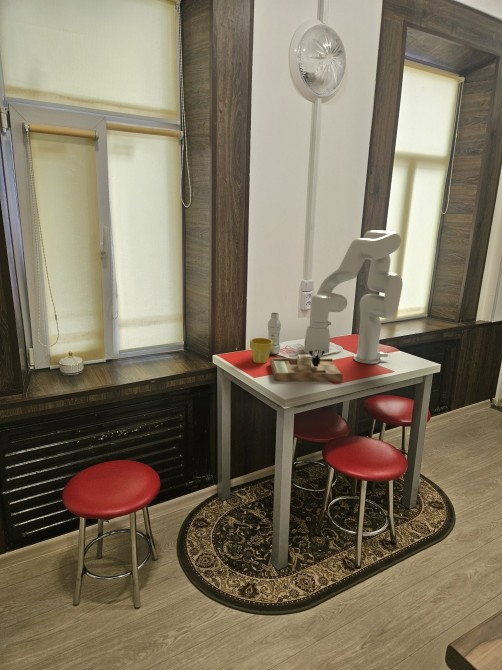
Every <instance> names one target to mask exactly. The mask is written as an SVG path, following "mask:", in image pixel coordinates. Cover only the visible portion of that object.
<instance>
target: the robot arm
mask: <svg viewBox="0 0 502 670" xmlns="http://www.w3.org/2000/svg"><path fill="white" fill-rule="evenodd" d="M401 242H402V238H401V236H400V234H399V233H398V232H396V231H388V230H375V229H374V230H367V231H366V232H365V233H364V234H363V237H361V238H355V239H353V240H352V241H351V243H350V244H349V247H348V249H347V251H346V252H345V255H344V257H343V259H342V261H341V263H340V265H339V267H338V268H337V269H336V270H335V271H333V272H332V273H330V275H328V276H327V277H326V278H325V279H324V280H323V281H322V282H321V284H320V286H319V288H318V291H316V292H317V293H316V294H315V295H313V296H312V297H311V302H310V315H309V325H308V326H307V328H306V330H305V336H304V337H305V338H304V349H303V352H304V353H306V354H308V355H310V357H311V358H312V364H313V365H314V367H316V366H317V367H318V364H320V358H322V357H323V355H324V354H329V353H330V343H331V340H330V339H331V335H330V334H331V333H330V329H329V326H332V321H329V314H330V313H341V312H343V311H344V310H345V309H346V308H347V306H348V300H347V298H346V297H345V296H344V295H342V294H338V293H335V292H333V290H335V288H336V287H337V286H339V285H340V284H342V283H345V282H348V281H351V280H354V279H355V278H358V275H359V273H360V271H361V269H362V267H363V264H364V263H365V262H366V260H369V261H370V264H369V265H370V267H369V271H368V276H367V288H368V289H369V290H370V291H373V292H378V293H380V294H384V295H380V294H375V293H367V294H364V295H363V296H362V297H361V298H360V300H359V312H360V316H359V317H360V318H359V319H360V320H359V332H358V341H357V351H356V353H355V354H353V357H352V358H353V360H354V361H356V362H357V363H362V364H367V365H369V364H370V365H374V364H378V363H381V358H387V357H388V356H389V354H388V352H383V351H379V347H380V346H379V345H380V336H381V328H382V322H381V319H386V320H390V319H393V318H394V317H395V316H396V314H397V312H398V309H399V305H400V300H401V295H402V291H403V279H402V277H401V276H400V274H398V273H395V272H390V265H391V260H392V259H391V256H390V255H392V254H393V253H395V252H396V251H397V250H398V249H399V248H400V246H401V244H402V243H401ZM316 352H317V353H316Z"/></svg>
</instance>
